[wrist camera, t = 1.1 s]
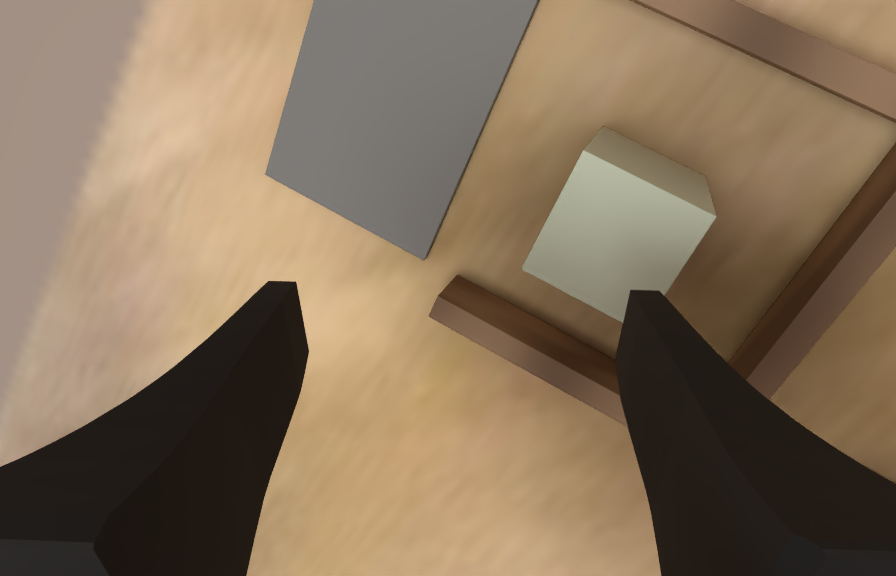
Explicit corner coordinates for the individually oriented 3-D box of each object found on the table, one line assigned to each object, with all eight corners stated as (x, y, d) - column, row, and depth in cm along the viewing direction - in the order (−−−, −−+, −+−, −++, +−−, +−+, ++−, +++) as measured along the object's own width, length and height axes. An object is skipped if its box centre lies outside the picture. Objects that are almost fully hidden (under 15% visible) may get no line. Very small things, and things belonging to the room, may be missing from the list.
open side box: (961, 112, 19) (999, 120, 17) (705, 435, 26) (709, 471, 23) (608, -48, 21) (601, -59, 19) (448, 294, 27) (428, 316, 25)
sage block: (705, 175, 22) (716, 216, 17) (646, 268, 24) (640, 332, 19) (603, 125, 23) (583, 150, 17) (553, 220, 25) (520, 269, 19)
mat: (554, -35, 21) (553, -36, 21) (426, 258, 27) (424, 260, 27) (354, -128, 22) (350, -130, 22) (269, 173, 28) (265, 174, 28)
